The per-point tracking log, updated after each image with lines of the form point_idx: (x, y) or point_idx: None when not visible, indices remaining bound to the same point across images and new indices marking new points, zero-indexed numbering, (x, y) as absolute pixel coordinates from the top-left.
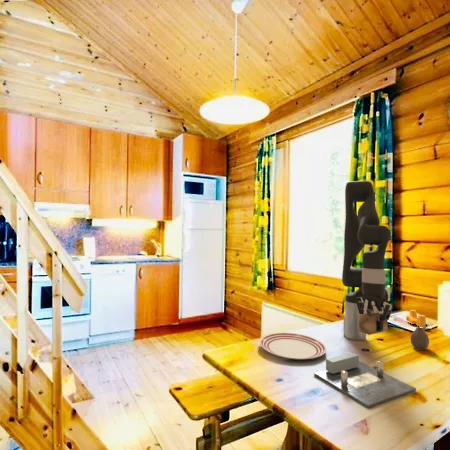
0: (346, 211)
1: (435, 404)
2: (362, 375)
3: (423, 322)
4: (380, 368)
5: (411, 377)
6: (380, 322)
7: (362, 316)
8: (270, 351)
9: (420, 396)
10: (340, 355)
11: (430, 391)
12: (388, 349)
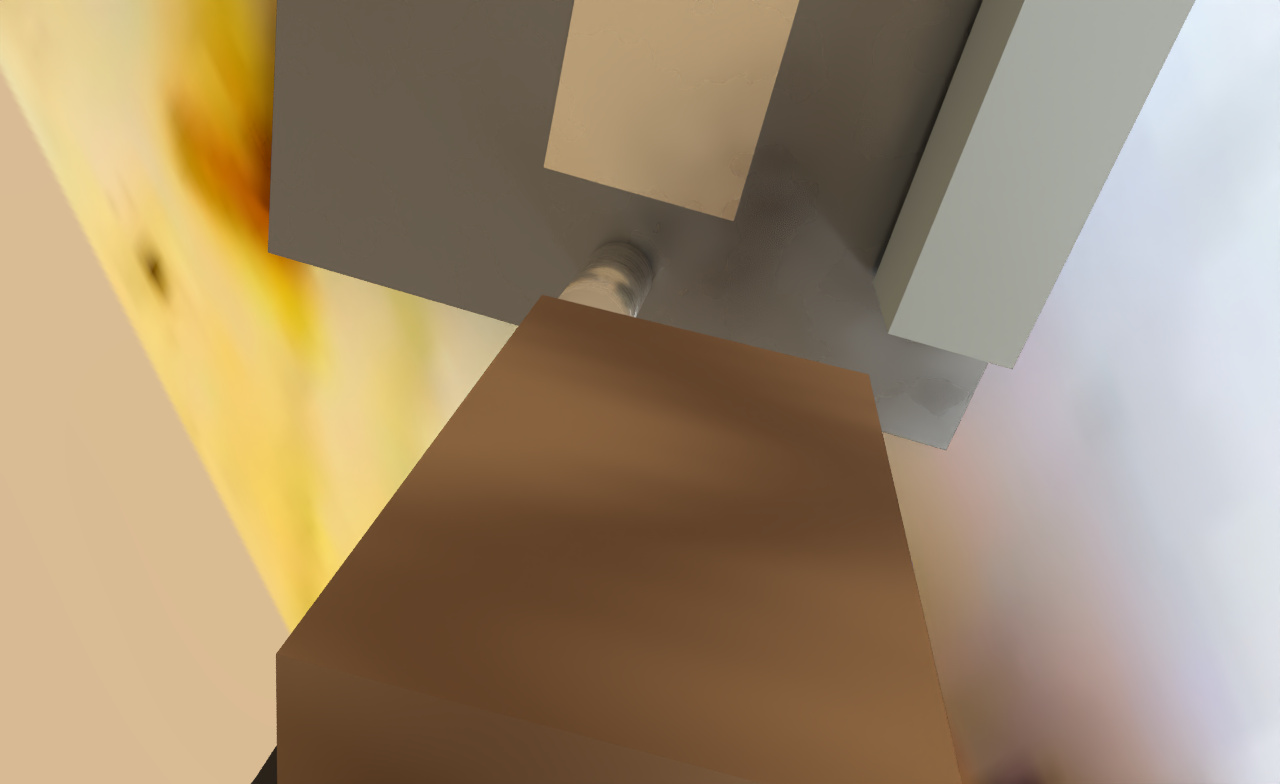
0: None
1: (110, 154)
2: (747, 86)
3: None
4: (579, 272)
5: None
6: (261, 778)
7: (734, 719)
8: None
9: (242, 203)
10: (1139, 104)
11: (249, 363)
12: None
